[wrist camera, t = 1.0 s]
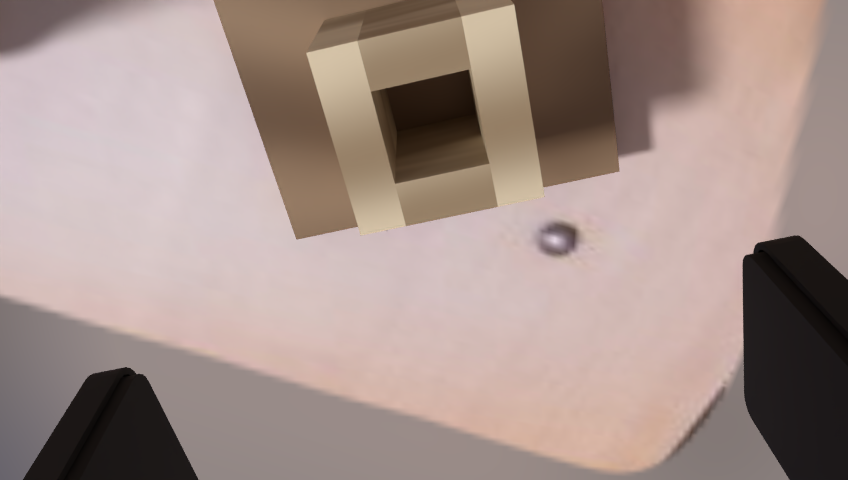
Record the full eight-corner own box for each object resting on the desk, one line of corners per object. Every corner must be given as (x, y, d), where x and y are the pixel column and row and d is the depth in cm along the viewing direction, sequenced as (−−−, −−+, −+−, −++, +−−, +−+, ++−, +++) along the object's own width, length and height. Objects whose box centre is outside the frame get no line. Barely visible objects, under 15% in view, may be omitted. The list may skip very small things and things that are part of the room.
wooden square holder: (324, 19, 25) (306, 53, 20) (494, -21, 24) (514, 4, 20) (368, 176, 27) (360, 235, 23) (522, 142, 27) (544, 196, 22)
